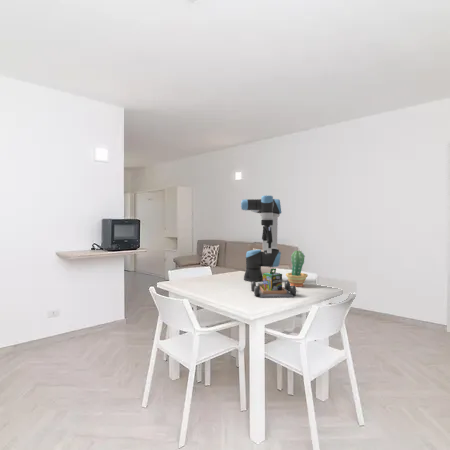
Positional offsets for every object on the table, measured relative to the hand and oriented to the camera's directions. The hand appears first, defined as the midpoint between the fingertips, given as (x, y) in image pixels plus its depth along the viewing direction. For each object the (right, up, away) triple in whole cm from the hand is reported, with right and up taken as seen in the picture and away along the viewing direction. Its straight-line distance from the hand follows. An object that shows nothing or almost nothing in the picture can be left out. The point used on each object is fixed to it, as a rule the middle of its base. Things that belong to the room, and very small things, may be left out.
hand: (267, 251), depth 209 cm
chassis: (+3, -26, -3) cm, 27 cm away
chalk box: (+3, -25, -4) cm, 26 cm away
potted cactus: (+24, -26, +20) cm, 41 cm away
